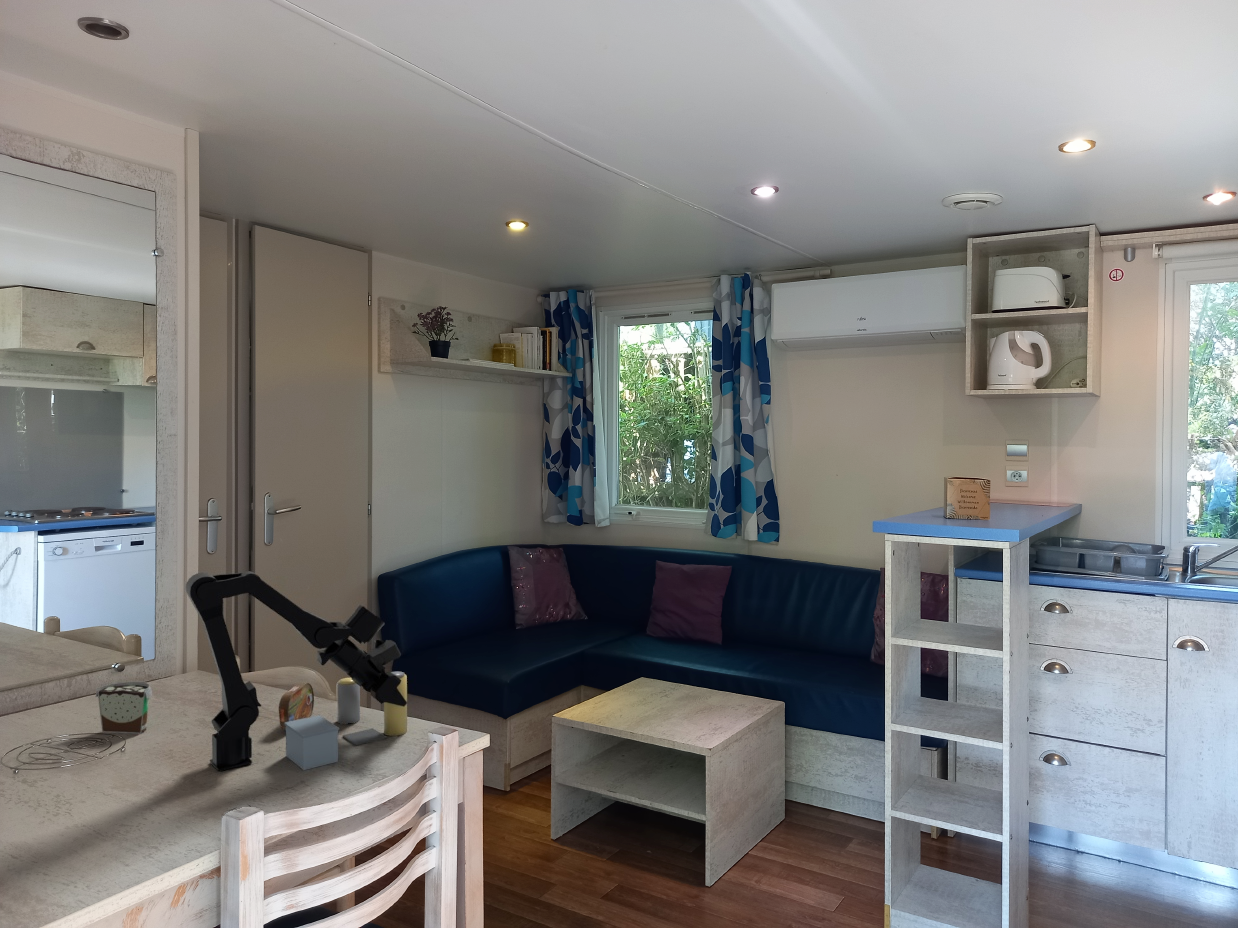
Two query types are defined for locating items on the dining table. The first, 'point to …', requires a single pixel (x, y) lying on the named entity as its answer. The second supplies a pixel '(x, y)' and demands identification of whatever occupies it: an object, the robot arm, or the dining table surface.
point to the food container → (124, 707)
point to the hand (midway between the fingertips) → (401, 701)
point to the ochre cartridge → (396, 711)
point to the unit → (311, 742)
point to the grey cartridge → (348, 701)
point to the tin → (296, 704)
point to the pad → (364, 736)
